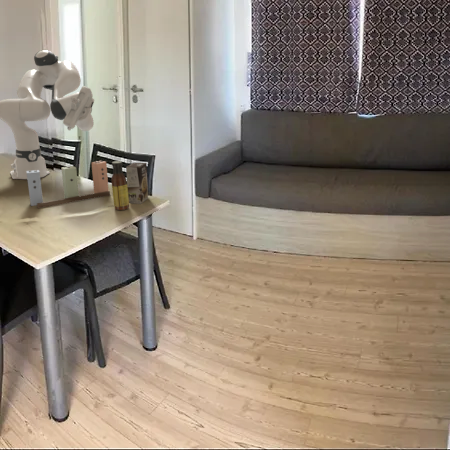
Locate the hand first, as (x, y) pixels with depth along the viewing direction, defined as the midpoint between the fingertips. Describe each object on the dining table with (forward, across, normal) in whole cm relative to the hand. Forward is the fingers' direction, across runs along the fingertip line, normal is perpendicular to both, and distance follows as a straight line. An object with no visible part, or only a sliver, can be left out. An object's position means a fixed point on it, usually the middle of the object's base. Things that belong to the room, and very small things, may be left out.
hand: (74, 100), depth 244 cm
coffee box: (-3, -28, +45) cm, 54 cm away
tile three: (-11, -30, +27) cm, 42 cm away
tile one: (-3, -40, +19) cm, 44 cm away
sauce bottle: (+6, -36, +42) cm, 56 cm away
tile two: (+2, -49, +8) cm, 49 cm away
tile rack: (-6, -40, +18) cm, 45 cm away
